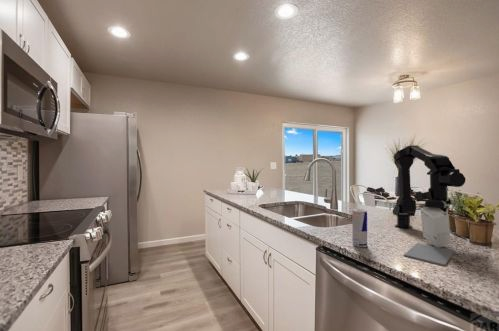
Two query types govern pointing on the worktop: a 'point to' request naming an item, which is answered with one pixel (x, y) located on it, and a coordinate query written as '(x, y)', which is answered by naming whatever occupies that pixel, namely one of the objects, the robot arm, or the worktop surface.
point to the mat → (430, 254)
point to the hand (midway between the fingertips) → (439, 223)
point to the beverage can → (359, 227)
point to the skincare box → (435, 226)
